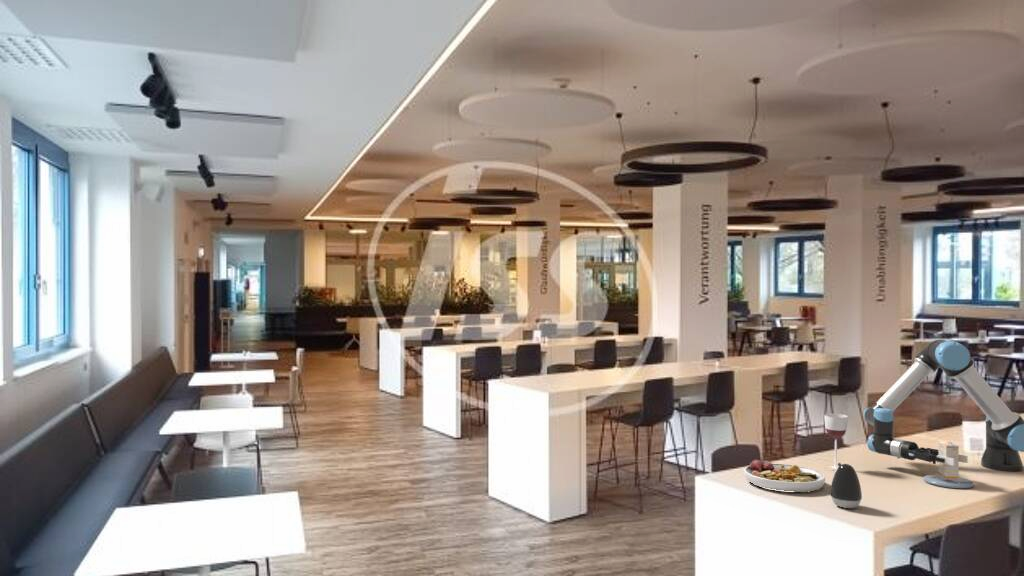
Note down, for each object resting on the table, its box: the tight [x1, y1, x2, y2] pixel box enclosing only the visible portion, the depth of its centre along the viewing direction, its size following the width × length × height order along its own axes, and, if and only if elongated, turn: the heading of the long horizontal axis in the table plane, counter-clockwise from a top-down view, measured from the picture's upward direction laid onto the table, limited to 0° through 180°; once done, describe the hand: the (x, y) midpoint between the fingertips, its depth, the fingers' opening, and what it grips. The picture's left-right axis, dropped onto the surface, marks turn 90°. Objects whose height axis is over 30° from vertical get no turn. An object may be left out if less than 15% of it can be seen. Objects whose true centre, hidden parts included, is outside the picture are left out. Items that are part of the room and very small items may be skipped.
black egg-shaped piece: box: [829, 462, 863, 509], centre depth 257 cm, size 10×10×15 cm
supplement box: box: [937, 441, 960, 479], centre depth 289 cm, size 8×5×13 cm, turn 169°
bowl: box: [743, 459, 826, 493], centre depth 287 cm, size 30×30×8 cm
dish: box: [923, 474, 975, 489], centre depth 289 cm, size 17×17×1 cm
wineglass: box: [823, 413, 849, 469], centre depth 312 cm, size 9×10×23 cm
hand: (960, 460), depth 285 cm, fingers closed on supplement box, 8 cm apart
